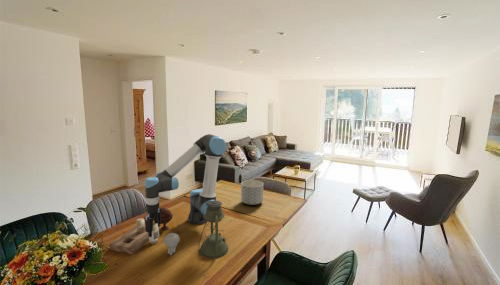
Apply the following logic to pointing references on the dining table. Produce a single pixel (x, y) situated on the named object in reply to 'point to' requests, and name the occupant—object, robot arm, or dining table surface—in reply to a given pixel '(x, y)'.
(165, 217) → the ice cream bowl
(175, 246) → the grey light bulb
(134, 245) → the wooden candle holder
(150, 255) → the dining table surface
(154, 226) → the peg
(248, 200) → the planter
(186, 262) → the dining table surface
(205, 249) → the lantern
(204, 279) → the dining table surface
